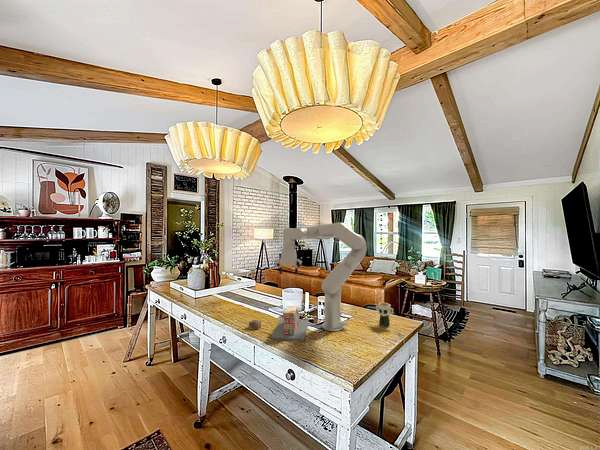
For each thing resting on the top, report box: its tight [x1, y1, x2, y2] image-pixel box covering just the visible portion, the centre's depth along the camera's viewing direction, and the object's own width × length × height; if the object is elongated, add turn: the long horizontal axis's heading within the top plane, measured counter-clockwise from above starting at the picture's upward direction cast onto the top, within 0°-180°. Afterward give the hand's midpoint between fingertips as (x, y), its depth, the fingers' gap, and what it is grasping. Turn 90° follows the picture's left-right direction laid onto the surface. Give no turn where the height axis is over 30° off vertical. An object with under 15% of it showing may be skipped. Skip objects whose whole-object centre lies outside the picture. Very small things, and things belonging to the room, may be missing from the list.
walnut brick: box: [248, 319, 262, 330], centre depth 157 cm, size 6×4×4 cm, turn 72°
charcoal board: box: [270, 318, 310, 342], centre depth 154 cm, size 18×28×1 cm, turn 174°
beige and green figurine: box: [375, 302, 394, 327], centre depth 163 cm, size 11×7×13 cm, turn 54°
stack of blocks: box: [283, 305, 300, 335], centre depth 155 cm, size 21×6×12 cm, turn 173°
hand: (288, 274), depth 167 cm, fingers open, 9 cm apart
